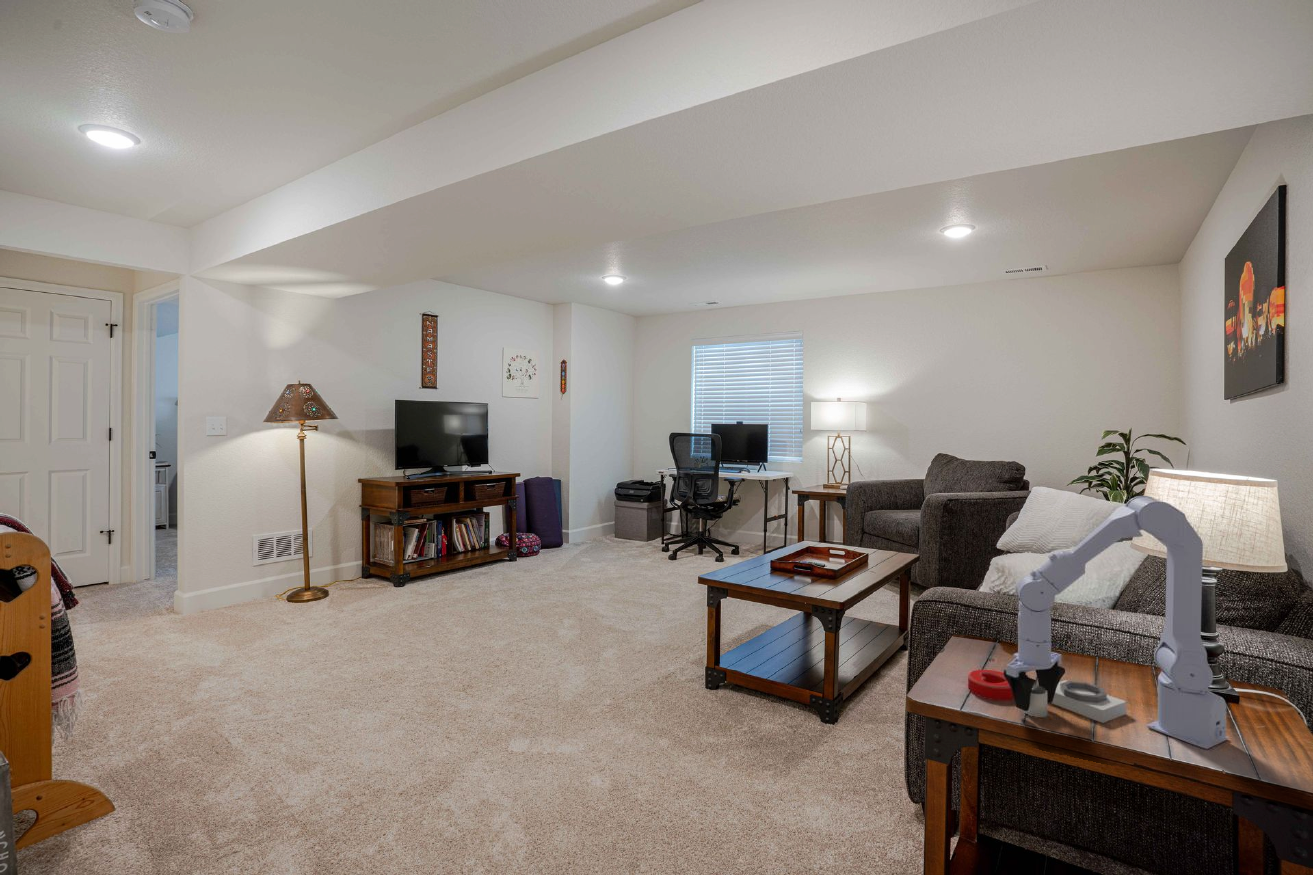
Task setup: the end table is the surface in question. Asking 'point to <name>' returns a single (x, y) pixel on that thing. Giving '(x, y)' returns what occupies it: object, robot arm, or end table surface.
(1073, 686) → the plate with octagonal ring
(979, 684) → the decorative ornament
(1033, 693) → the lens
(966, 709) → the end table surface
